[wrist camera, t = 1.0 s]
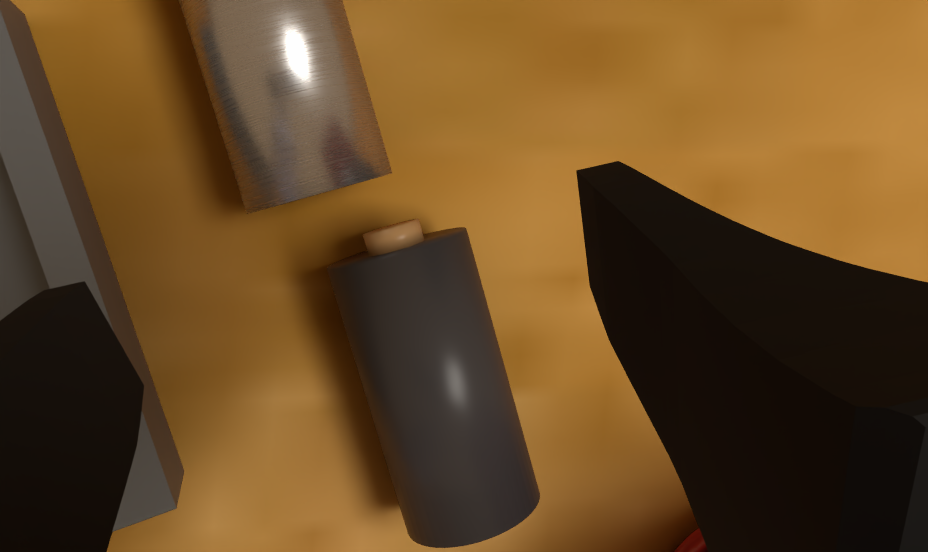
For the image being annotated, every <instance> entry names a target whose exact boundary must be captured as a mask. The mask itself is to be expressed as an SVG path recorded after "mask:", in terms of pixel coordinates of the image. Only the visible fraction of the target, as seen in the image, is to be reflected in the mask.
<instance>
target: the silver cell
mask: <svg viewBox="0 0 928 552" xmlns="http://www.w3.org/2000/svg"><path fill="white" fill-rule="evenodd" d="M179 3H180V6H181V10H182V13H183V16H184V19H185V22H186V25H187V28H188V32H189V35H190V38H191V41H192V44H193V47H194V50H195V53H196V57H197V60H198V63H199V66H200V69H201V72H202V75H203V78H204V82H205V85H206V88H207V91H208V94H209V97H210V100H211V103H212V107H213V110H214V113H215V116H216V119H217V122H218V125H219V128H220V132H221V135H222V138H223V141H224V144H225V147H226V150H227V153H228V157H229V160H230V163H231V166H232V169H233V172H234V175H235V178H236V182H237V185H238V188H239V191H240V194H241V197H242V200H243V204H244V207H245V210H246V213H247V214H249V213H252V212H256V211H260V210H263V209H267V208H270V207H274V206H277V205H281V204H285V203H288V202H292V201H295V200H299V199H302V198H306V197H310V196H313V195H317V194H320V193H324V192H327V191H331V190H334V189H338V188H342V187H345V186H349V185H352V184H356V183H359V182H363V181H367V180H370V179H374V178H377V177H381V176H384V175H388V174H391V173H392V171H391V167H390V164H389V160H388V157H387V153H386V150H385V146H384V143H383V139H382V136H381V132H380V129H379V126H378V122H377V119H376V115H375V112H374V108H373V105H372V101H371V98H370V94H369V91H368V87H367V84H366V81H365V77H364V74H363V70H362V67H361V63H360V60H359V56H358V53H357V49H356V46H355V42H354V39H353V36H352V32H351V29H350V25H349V22H348V18H347V15H346V11H345V8H344V4H343V1H342V0H179Z"/></svg>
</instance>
